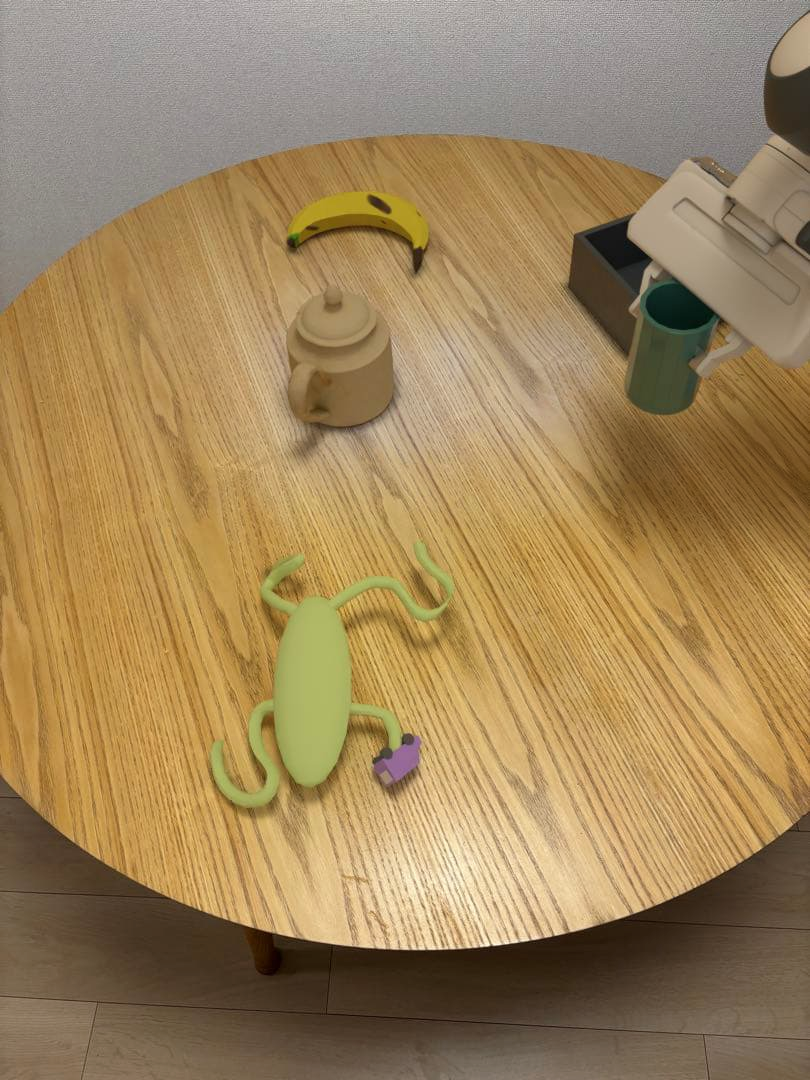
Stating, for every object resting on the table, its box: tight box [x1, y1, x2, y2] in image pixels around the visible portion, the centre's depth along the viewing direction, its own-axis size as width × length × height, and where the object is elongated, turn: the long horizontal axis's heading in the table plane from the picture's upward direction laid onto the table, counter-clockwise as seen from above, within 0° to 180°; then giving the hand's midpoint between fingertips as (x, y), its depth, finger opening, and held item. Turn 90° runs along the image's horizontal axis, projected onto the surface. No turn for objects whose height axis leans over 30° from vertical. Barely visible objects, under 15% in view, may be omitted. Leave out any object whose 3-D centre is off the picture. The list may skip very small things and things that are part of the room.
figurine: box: [209, 541, 456, 809], centre depth 88 cm, size 18×27×6 cm
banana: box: [286, 190, 430, 273], centre depth 124 cm, size 5×17×15 cm
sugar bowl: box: [285, 283, 395, 428], centre depth 104 cm, size 15×11×15 cm
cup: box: [623, 279, 720, 416], centre depth 88 cm, size 7×7×10 cm
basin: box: [567, 211, 725, 357], centre depth 114 cm, size 14×14×8 cm
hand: (665, 344), depth 87 cm, fingers closed on cup, 6 cm apart
